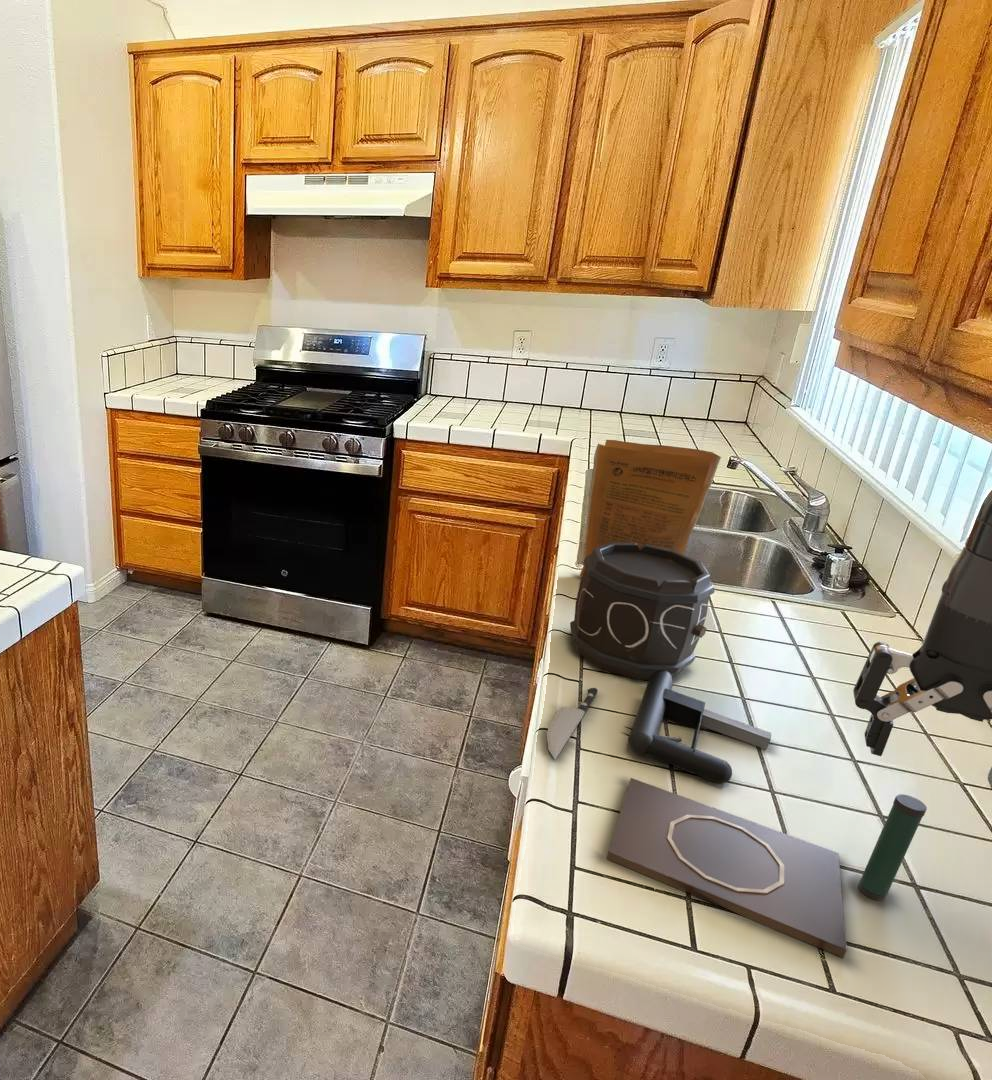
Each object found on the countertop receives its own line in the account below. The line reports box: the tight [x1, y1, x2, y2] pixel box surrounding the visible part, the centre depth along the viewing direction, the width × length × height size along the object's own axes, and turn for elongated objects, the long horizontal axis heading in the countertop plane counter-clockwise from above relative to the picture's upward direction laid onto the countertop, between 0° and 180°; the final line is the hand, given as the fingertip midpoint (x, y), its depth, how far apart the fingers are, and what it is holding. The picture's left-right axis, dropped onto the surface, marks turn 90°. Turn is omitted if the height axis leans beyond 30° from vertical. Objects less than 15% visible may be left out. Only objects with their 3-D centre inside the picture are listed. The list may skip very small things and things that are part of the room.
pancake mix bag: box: [579, 439, 722, 578], centre depth 134 cm, size 7×19×28 cm, turn 57°
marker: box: [857, 793, 928, 901], centre depth 72 cm, size 2×2×11 cm
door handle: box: [620, 670, 772, 785], centre depth 97 cm, size 3×20×16 cm
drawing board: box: [605, 777, 848, 958], centre depth 77 cm, size 20×14×1 cm
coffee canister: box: [569, 542, 715, 681], centre depth 114 cm, size 18×18×16 cm
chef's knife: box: [546, 687, 599, 760], centre depth 99 cm, size 19×1×3 cm
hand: (933, 767), depth 68 cm, fingers open, 8 cm apart
